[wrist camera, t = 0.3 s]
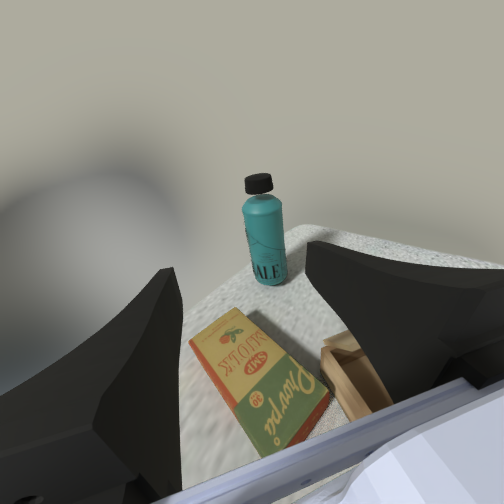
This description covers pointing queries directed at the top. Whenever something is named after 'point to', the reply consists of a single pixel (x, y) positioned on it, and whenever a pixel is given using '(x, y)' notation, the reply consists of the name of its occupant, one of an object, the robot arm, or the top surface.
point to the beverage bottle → (265, 230)
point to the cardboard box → (353, 382)
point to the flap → (343, 341)
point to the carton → (260, 382)
